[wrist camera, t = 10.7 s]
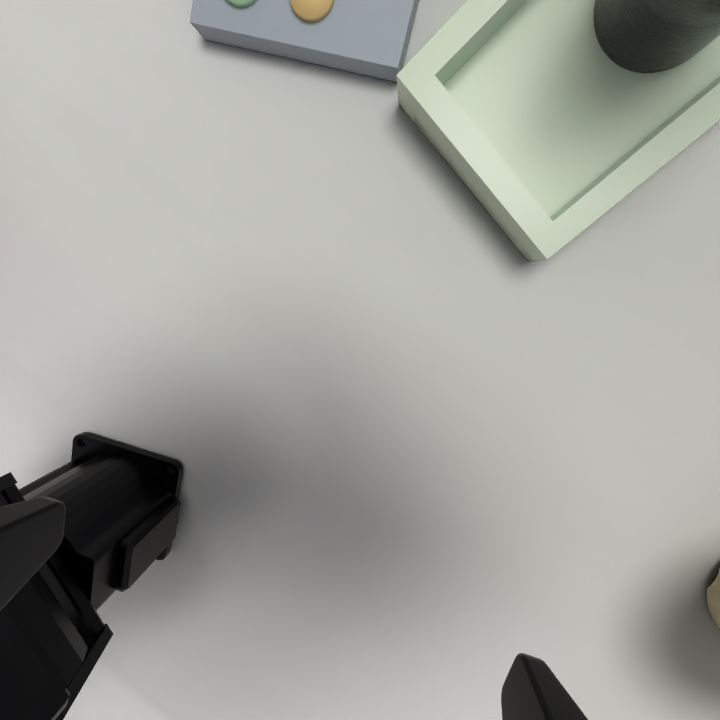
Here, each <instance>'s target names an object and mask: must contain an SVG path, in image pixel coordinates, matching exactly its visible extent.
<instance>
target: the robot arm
mask: <svg viewBox="0 0 720 720" xmlns="http://www.w3.org/2000/svg"><path fill="white" fill-rule="evenodd" d="M83 440H84V442H85V443H84V442H83ZM171 467H172V468H173V469H174V470H175V472H174V471H172V470H171ZM182 473H183V467H182V464H181V463H180V462H179V461H177V460H174V459H171V458H168V457H165V456H161V455H158V454H155V453H152V452H149V451H145V450H142V449H139V448H136V447H133V446H129V445H126V444H123V443H120V442H116V441H113V440H110V439H107V438H104V437H100V436H97V435H94V434H91V433H88V432H83V433H81V434H79V435H76V436H75V437H74V439H73V448H72V460H71V462H69V463H68V464H66V465H64V466H62V467H60V468H58V469H56V470H54V471H53V472H51V473H49V474H47V475H45V476H43V477H41V478H40V479H38V480H36V481H34V482H32V483H30V484H28V485H27V486H25V487H23V488H21V489H19V490H18V488H17V486H16V485H15V484H16V483H17V481H16V480H15V478H14V477H13V475H12V473H11V472H10V473H8V474H6V475H4V476H2V477H0V720H63V719H64V717H65V715H66V714H67V712H68V710H69V709H70V707H71V705H72V703H73V702H74V700H75V698H76V697H77V695H78V693H79V692H80V690H81V688H82V686H83V685H84V683H85V681H86V680H87V678H88V676H89V674H90V673H91V671H92V669H93V668H94V666H95V664H96V662H97V661H98V659H99V657H100V656H101V654H102V652H103V651H104V649H105V647H106V645H107V644H108V642H109V640H110V639H111V637H112V635H113V633H112V631H111V629H110V628H109V626H108V625H107V624H104V623H103V622H102V620H101V619H100V617H99V615H98V614H97V612H96V610H97V609H98V608H99V607H100V606H101V605H102V604H103V603H104V602H105V601H106V600H107V599H108V598H109V597H110V596H111V595H112V594H113V593H114V591H115V590H119V591H121V592H123V591H125V590H127V589H128V588H130V586H131V585H132V584H133V583H134V582H135V581H136V580H137V579H138V578H139V577H140V576H141V574H142V573H143V572H144V571H145V570H146V569H147V568H148V567H149V566H150V565H151V564H152V562H153V561H154V560H155V559H157V560H163V559H164V558H165V557H166V556H167V555H168V554H169V552H170V548H171V542H172V541H173V540H174V538H175V535H176V528H177V522H178V516H179V510H180V500H179V492H180V485H181V479H182ZM501 705H502V718H503V720H588V719H587V718H586V716H585V715H584V714H583V712H582V711H581V710H580V708H579V707H578V706H577V704H576V703H575V702H574V700H573V699H572V698H571V696H570V695H569V694H568V692H567V691H566V690H565V688H564V687H563V686H562V684H561V683H560V682H559V680H558V679H557V678H556V676H555V675H554V674H553V672H552V671H551V670H550V668H549V667H548V666H547V665H546V663H545V662H544V661H543V660H541V659H539V658H536V657H533V656H530V655H527V654H524V653H520V654H518V655H517V656H516V658H515V660H514V662H513V664H512V666H511V669H510V671H509V673H508V675H507V678H506V680H505V682H504V685H503V688H502V694H501Z"/></svg>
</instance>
